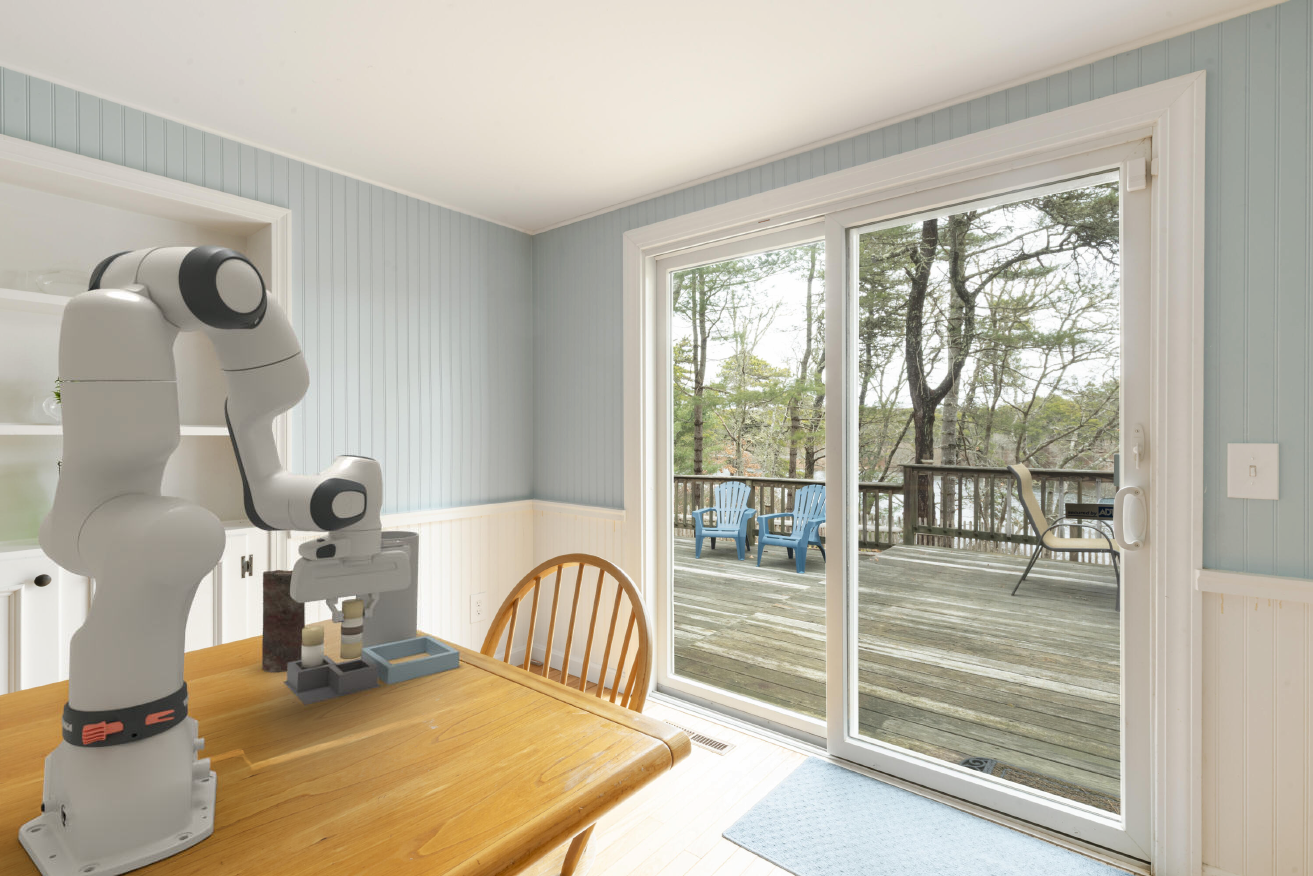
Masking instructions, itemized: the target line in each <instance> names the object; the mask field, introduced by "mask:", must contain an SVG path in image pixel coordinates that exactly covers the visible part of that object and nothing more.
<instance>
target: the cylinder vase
mask: <svg viewBox="0 0 1313 876" xmlns="http://www.w3.org/2000/svg"><path fill="white" fill-rule="evenodd" d="M398 540H402V541H404V542H406V543H408V544H409V546H410V548H411V556H410V559H409V563H410V572H411V583H410V585H409V586H408V587H407V589H401V590H394V591H386V592H379V600H378V601H377V603H376V604H375V606H374V608H373V613H372V617H371V618H363V641H362V648H367V647H372V646H377V645H382V644H387V643H392V642H397V641H402V640H407V639H412V638H417V635H418V633H417V631H418V629H417V628H418V597H419V595H418V594H419V593H418V591H419V589H418V588H419V555H420V554H419V548H420V547H419V546H420V544H419V542H420V533H418V532H415V531H407V530H403V531H401V530H384V531H383V530H381V542H385V541H398ZM403 546H405V544H404V545H403ZM392 547H394V546H392ZM355 599H363V600H364V607H366V605H367V603H368V601H369V599H370V598H369V597H368V594H364V595H357V596H355Z"/></svg>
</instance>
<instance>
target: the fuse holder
mask: <svg viewBox="0 0 1313 876" xmlns="http://www.w3.org/2000/svg"><path fill="white" fill-rule="evenodd" d="M286 673H287V675H286V681H283V684H284V685H286V686H287V688H288V689H289V690H290V691H291V692H293V694H294V695H295V696H296V698H298V700H300V701H301V702H302V703H303V705H305V706H307V705H311V704H314V703H319V702H322V701H323V702H324V701H327V700H331V699H335V698H339V697H343V696H344V697H345V696H347V695H351V694H355V693H356V694H357V693H359V692H364V691H367V690H371V689H375V688H380V687H381V685H380V684H379V683H378V677H377V674H378V667H377V666H376V665H374V664H373V663H372V662H370V661H369V660H367V659H366V658H365V657H364V658H361V657H359V658H355V659H349V660H346V661H345V660H344V661H341V662H336V661H334V659H332V658H330V657H329V656H328V655H327V654H324V661H323V666H318V667H313V668H309V669H304V670H302V669H301V660H299V661H294V662H289V663H287V671H286Z"/></svg>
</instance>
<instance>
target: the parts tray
mask: <svg viewBox="0 0 1313 876" xmlns="http://www.w3.org/2000/svg"><path fill="white" fill-rule="evenodd" d="M423 653H426V654H427V655H429V656H424V657H420V658H417V659H410V660H407V661H401V662H398V663H391V662H389V661H393V660H397V659H400V658H406V657H410V656H416V655H419V654H423ZM364 657H365V658H366V659H367V660H369V661H370V662H372V663H373V664H374V665H376V666H377V667H378V674H377V679H380V680H381V681H382V682H383V683H385V684H386V685H387V686H389V685H394V684H397V683H402V682H405V681H409V680H413V679H417V678H422V677H426V676H429V675H434V674H438V673H442V672H446V671H451V670H454V669H459V668H460V651H459V650H457V649H456V648H454V647H452V646H450V645H448V644H446V643H445V642H443V641H440V640H439V639H437V638H435V637H433V636H431V635H429V634H427V635H423V636H418V637H417V638H412V639H407V640H402V641H397V642H392V643H387V644H382V645H377V646H372V647H367V648H362V656H361V657H360V658H364Z"/></svg>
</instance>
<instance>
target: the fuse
mask: <svg viewBox="0 0 1313 876" xmlns="http://www.w3.org/2000/svg"><path fill="white" fill-rule="evenodd" d="M324 653H325V626H324V625H317V624H316V625H308V626H305V628H303V629H302V658H301V669H302V670H304V669H309V668H313V667H318V666H323V661H324V655H325V654H324Z"/></svg>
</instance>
